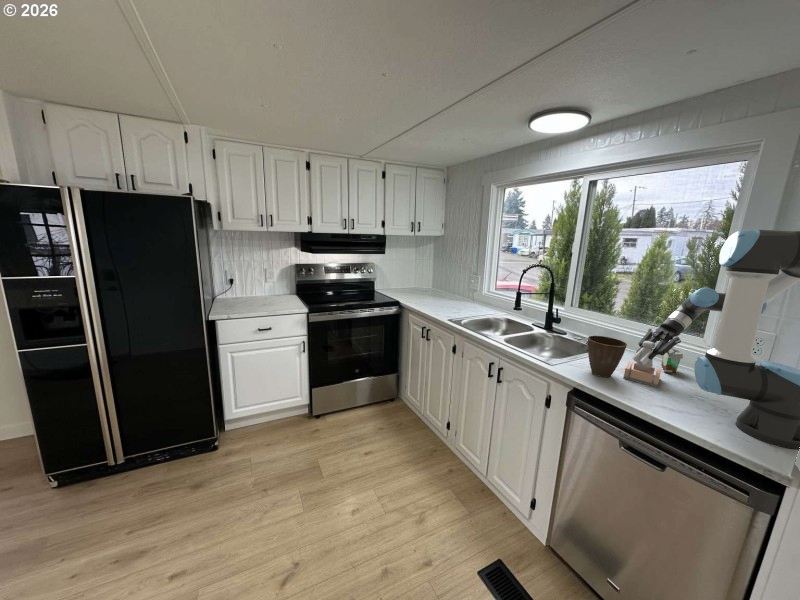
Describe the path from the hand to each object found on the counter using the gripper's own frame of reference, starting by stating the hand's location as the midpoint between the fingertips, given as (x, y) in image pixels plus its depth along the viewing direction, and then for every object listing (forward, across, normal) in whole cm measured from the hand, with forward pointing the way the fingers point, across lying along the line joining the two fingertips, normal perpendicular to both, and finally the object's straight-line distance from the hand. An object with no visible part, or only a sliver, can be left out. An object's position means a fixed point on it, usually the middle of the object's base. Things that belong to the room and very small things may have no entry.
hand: (638, 361), depth 141 cm
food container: (-13, +5, -25) cm, 29 cm away
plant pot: (+14, +7, +2) cm, 16 cm away
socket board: (+3, 0, -8) cm, 9 cm away
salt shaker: (0, 0, -6) cm, 6 cm away
